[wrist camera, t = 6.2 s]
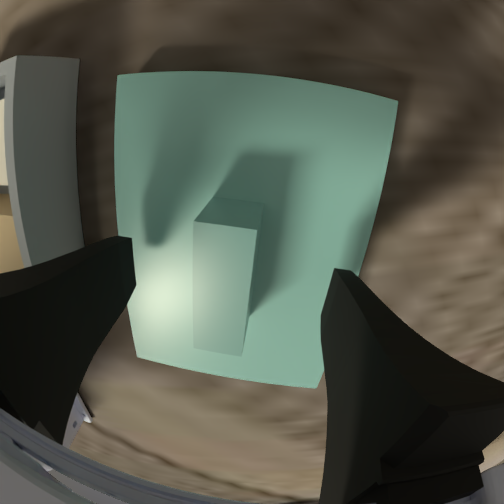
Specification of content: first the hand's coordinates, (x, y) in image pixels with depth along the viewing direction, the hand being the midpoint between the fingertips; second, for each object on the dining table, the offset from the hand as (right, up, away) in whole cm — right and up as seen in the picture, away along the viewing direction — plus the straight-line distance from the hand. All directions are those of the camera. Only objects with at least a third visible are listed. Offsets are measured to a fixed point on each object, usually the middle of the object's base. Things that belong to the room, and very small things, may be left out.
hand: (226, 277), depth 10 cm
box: (-11, +5, +2) cm, 12 cm away
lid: (0, +1, +2) cm, 3 cm away
